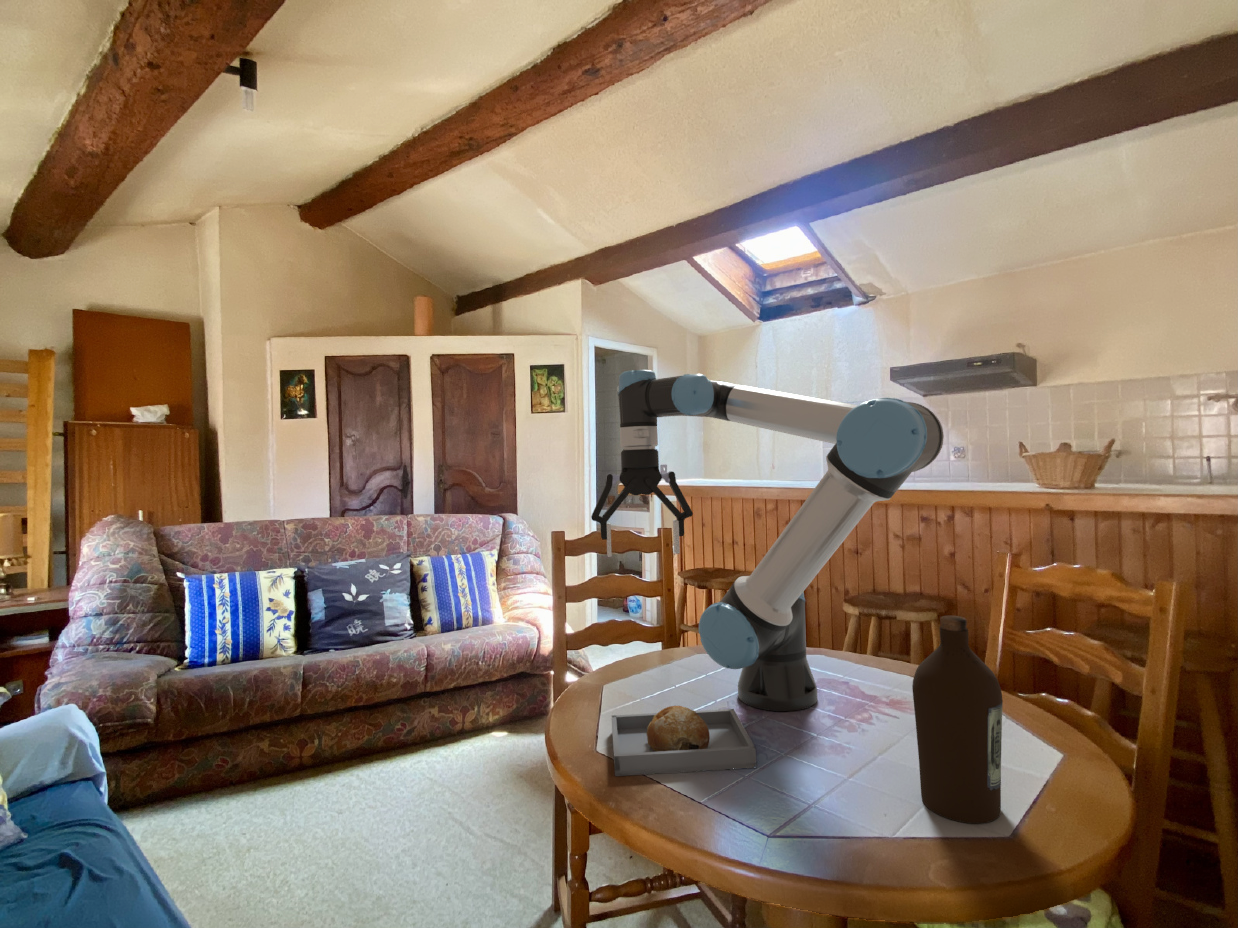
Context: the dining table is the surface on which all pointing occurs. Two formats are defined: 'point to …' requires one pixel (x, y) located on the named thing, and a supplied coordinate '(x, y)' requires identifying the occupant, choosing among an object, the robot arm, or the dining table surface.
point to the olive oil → (958, 729)
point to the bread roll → (677, 730)
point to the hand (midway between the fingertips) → (643, 554)
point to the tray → (722, 752)
